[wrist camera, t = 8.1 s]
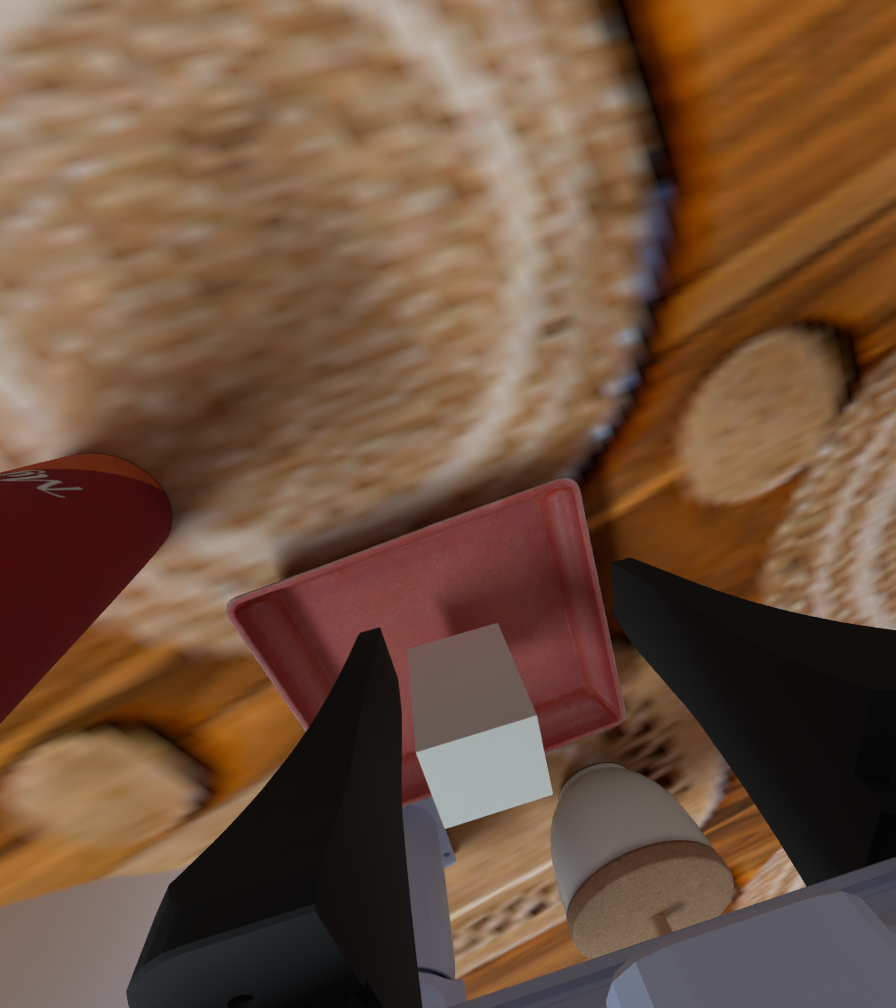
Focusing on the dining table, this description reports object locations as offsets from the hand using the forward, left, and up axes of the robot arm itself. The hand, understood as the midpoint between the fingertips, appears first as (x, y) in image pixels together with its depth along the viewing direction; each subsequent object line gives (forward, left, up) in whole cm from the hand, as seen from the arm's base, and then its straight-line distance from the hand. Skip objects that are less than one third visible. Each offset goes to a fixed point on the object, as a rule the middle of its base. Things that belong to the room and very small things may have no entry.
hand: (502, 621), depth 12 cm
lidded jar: (-27, -6, -11) cm, 30 cm away
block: (-9, +2, -8) cm, 12 cm away
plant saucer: (-9, +2, -11) cm, 15 cm away
